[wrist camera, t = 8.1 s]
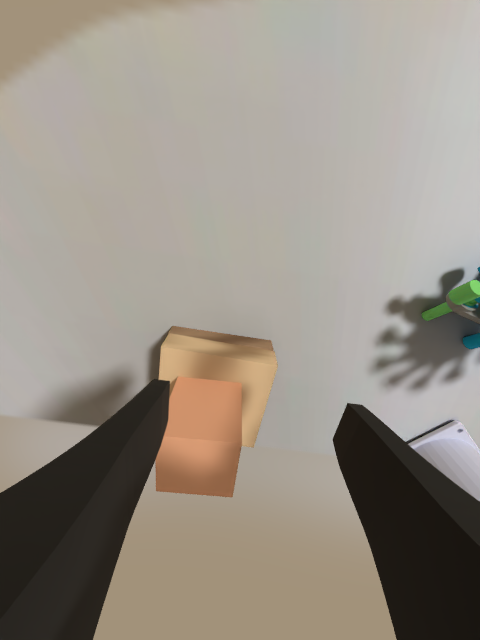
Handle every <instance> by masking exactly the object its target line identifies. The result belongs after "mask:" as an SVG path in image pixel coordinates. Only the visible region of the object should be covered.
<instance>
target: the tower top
mask: <svg viewBox="0 0 480 640" xmlns="http://www.w3.org/2000/svg"><path fill="white" fill-rule="evenodd" d="M277 367H278V364H277V360H276V356H275V352H274V351H270V350H265V349H259V348H253V347H247V346H241V345H235V344H229V343H224V342H218V341H212V340H206V339H200V338H194V337H189V336H183V335H177V334H171V333H169V334H168V336H167V338H166V339H165V341H164V342H163V344H162V346H161V354H160V367H159V380H166V381H170V394H169V398H170V396H171V393H172V391H173V388H174V385H175V383H176V380H177V378H178V376H179V377H189V378H199V379H208V380H218V381H228V382H237V383H242V446H246V447H254V444H255V441H256V437H257V434H258V431H259V427H260V424H261V421H262V417H263V414H264V411H265V407H266V404H267V401H268V397H269V394H270V391H271V387H272V384H273V380H274V377H275V374H276V370H277Z"/></svg>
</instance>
